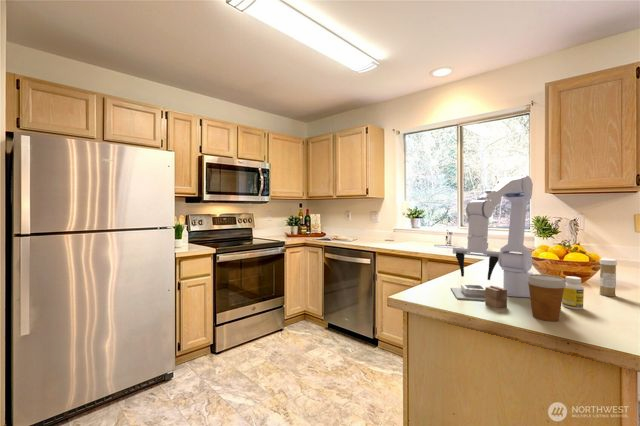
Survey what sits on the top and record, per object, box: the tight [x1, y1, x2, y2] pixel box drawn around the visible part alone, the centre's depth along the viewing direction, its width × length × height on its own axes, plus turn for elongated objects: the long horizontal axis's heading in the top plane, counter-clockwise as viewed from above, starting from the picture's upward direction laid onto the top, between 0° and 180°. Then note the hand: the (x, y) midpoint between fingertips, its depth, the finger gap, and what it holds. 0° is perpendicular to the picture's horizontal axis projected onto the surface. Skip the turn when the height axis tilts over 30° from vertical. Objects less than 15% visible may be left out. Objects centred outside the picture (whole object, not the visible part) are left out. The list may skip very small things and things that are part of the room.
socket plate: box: [450, 287, 485, 302], centre depth 114 cm, size 14×14×1 cm
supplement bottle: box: [561, 275, 585, 310], centre depth 100 cm, size 5×5×10 cm
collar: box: [460, 283, 486, 297], centre depth 114 cm, size 8×8×2 cm
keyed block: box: [484, 285, 508, 310], centre depth 102 cm, size 4×4×6 cm
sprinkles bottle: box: [598, 257, 618, 297], centre depth 114 cm, size 5×5×14 cm
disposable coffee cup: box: [527, 273, 566, 322], centre depth 91 cm, size 10×10×12 cm
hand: (475, 277), depth 101 cm, fingers open, 7 cm apart
